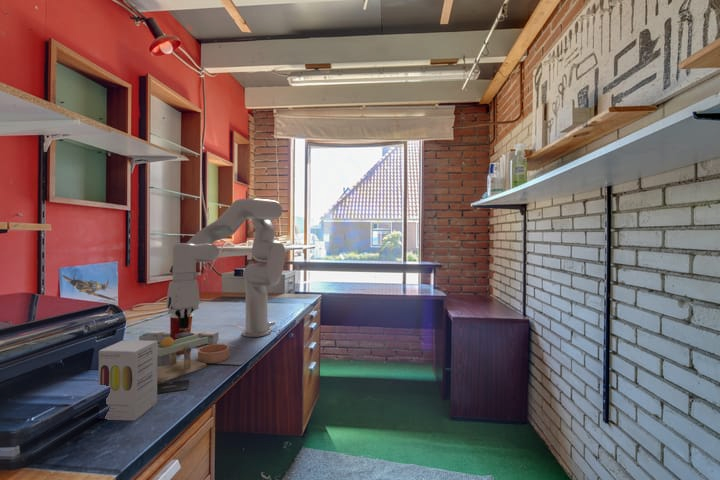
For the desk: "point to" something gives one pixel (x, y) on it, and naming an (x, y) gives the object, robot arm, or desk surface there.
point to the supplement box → (129, 378)
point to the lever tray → (179, 346)
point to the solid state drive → (172, 386)
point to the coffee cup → (175, 328)
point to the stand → (178, 366)
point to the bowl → (213, 353)
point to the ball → (167, 342)
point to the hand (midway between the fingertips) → (183, 327)
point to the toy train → (160, 335)
